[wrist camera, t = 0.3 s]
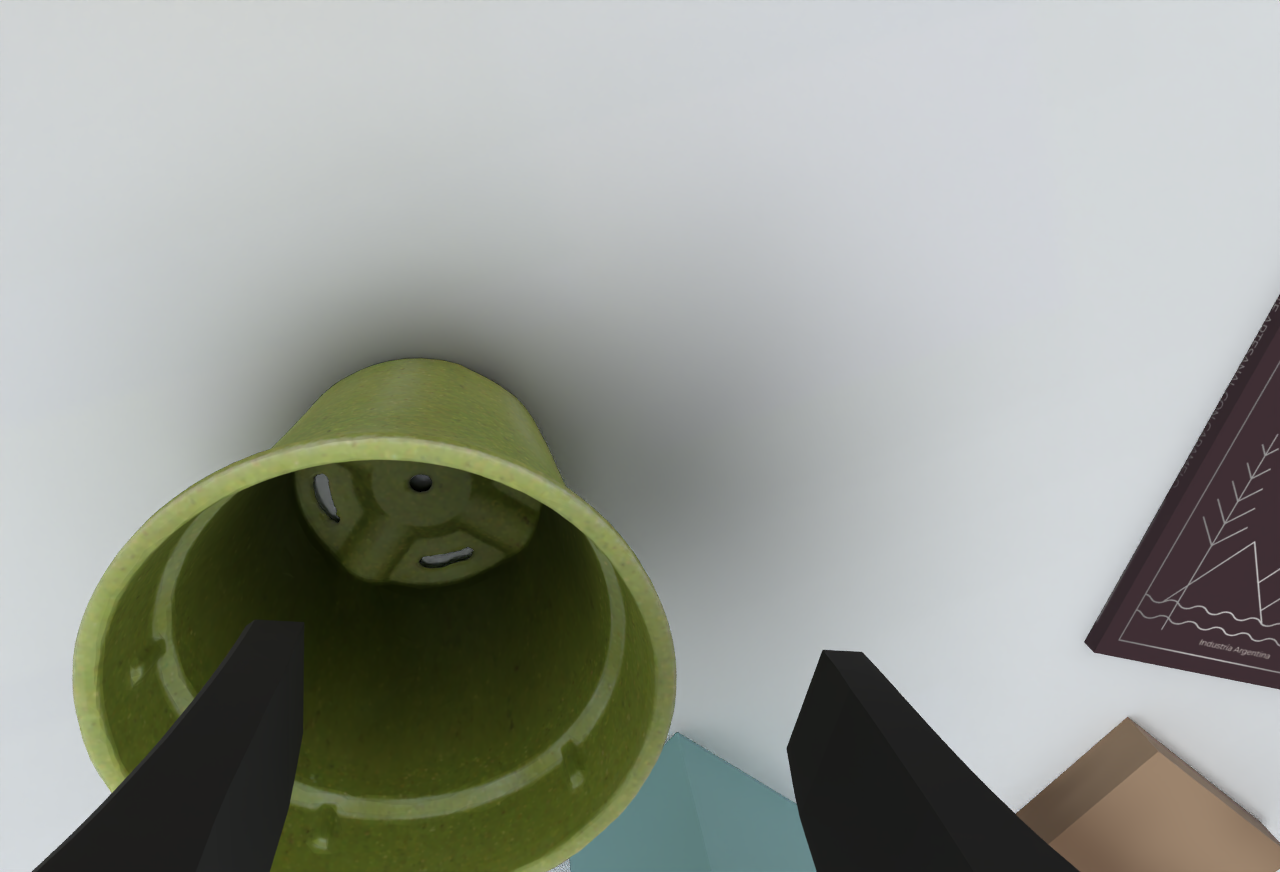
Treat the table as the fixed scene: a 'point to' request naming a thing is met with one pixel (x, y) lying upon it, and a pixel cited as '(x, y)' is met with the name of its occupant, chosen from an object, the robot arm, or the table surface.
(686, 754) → the teal block
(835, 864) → the robot arm
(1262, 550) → the chocolate bar
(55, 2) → the table surface
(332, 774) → the plant pot
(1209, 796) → the walnut slab
